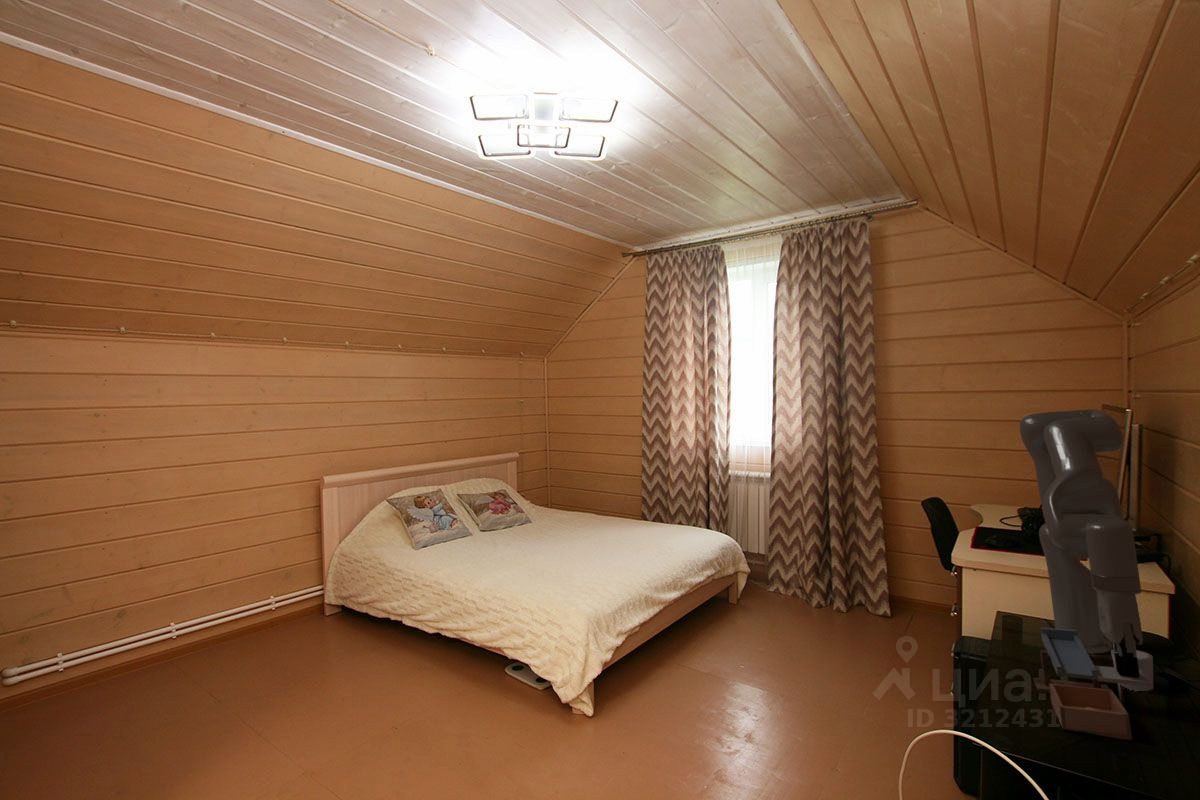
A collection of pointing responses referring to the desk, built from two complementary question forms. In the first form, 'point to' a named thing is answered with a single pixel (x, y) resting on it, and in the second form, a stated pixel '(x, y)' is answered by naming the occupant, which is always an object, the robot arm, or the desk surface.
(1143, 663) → the light grey cylinder
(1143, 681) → the grey piece
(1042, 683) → the stand
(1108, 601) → the robot arm
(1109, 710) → the pink open box
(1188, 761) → the desk surface
